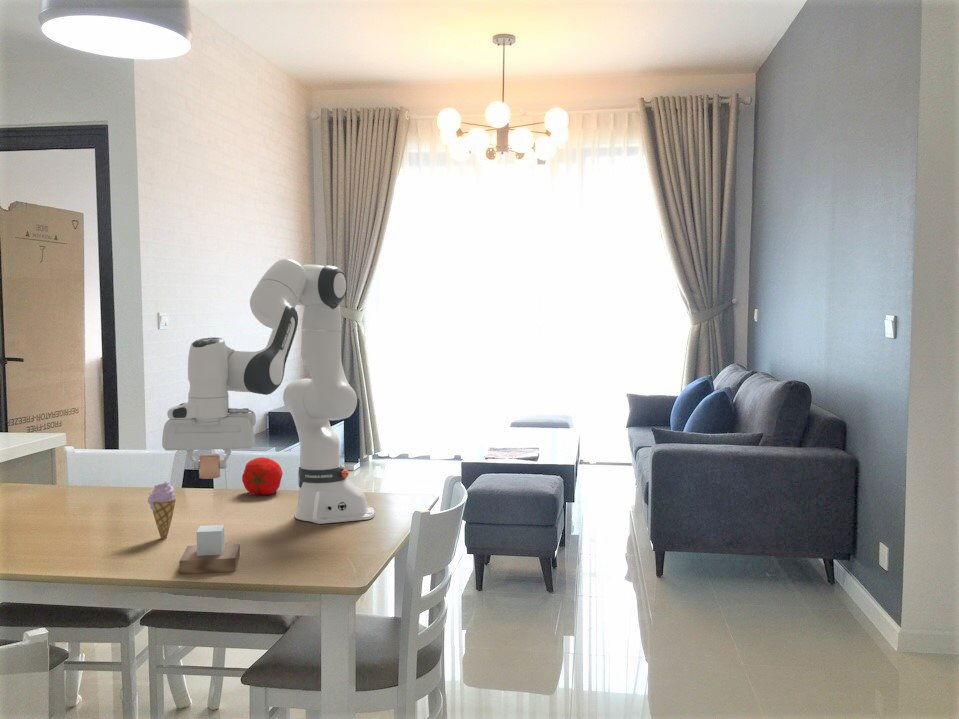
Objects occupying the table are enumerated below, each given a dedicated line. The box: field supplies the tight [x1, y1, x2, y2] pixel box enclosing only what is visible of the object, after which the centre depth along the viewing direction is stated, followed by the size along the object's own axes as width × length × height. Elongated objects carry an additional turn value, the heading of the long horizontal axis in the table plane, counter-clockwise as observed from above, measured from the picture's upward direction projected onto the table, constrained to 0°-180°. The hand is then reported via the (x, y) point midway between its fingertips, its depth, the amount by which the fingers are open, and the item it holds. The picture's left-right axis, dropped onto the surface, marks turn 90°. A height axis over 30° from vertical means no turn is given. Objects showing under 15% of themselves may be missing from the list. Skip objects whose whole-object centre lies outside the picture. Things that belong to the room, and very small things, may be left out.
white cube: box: [196, 524, 226, 556], centre depth 198 cm, size 6×6×6 cm
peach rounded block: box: [198, 453, 221, 480], centre depth 197 cm, size 5×5×5 cm
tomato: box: [241, 456, 283, 496], centre depth 272 cm, size 13×13×13 cm
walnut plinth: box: [179, 543, 241, 575], centre depth 199 cm, size 12×12×3 cm
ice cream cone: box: [147, 480, 176, 540], centre depth 220 cm, size 7×6×15 cm
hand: (209, 468), depth 197 cm, fingers closed on peach rounded block, 5 cm apart
